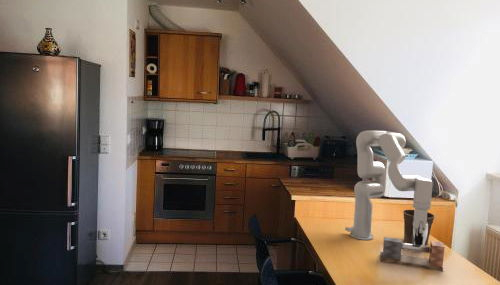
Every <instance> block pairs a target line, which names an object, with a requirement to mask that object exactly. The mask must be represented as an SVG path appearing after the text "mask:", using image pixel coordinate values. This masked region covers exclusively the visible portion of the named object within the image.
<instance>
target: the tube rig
mask: <svg viewBox="0 0 500 285" xmlns="http://www.w3.org/2000/svg"><path fill="white" fill-rule="evenodd" d="M402 243H403V240H402V239H400V238H395V237H388V236H384V237H383V245H382V246H383V247H382V251H380V254H379V257H380V259H379V260H380V263H386V264H393V265H399V266H404V267H405V266H406V267H411V268H412V267H413V268H417V269H425V270H429V271H430V270H431V271H437V272H444V256H445V245H444V243H443V241H437V240H430V246H429V247H430V252H429V253H428V254H429V255H428V256H429V257H428V258H426V257H420V256H419V257H417V256H413V255H406V254H405V255H404V254H402V250H403V249H402Z"/></svg>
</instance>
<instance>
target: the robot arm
mask: <svg viewBox="0 0 500 285" xmlns="http://www.w3.org/2000/svg"><path fill="white" fill-rule="evenodd" d="M355 143H356V144H355V145H356V151H357V175H358V177H359V178H360V179H372V180H362V181H361V180H360V181H357V183H356V184H355V185H354V188H353V189H354V191H353V192H354V215H353V216H354V217H353V226H351V227H348V226H345V228H344V230H345V231H347V232H348V233H349V232H350V233H349V236H350V237H352V238H353V239H356V240H361V241H362V240H363V241H369V240H372V239H373V238H374V234H372V233H371V232H372V222H373V202H372V201H371V199H373V198H381V197H383V196H384V195H385V193H386V181H387V180H386V174H388V178H389V180H390V182H391V184H392V185H393V187H394V188H395V190H397V191H399V192H413V199H412V200H413V204H412V208H414V209H413V210H414V218H413V228H414V229H415V230H416V231H415V238H414V241H415V244H418V245H422V244H423V230H424V231H425V229H426V221H427V212H428V211H430V210H431V208H432V207H431V206H432V204H431V203H432V194H433V184H434V183H433V181H432V180H431V179H429V178H425V177H422V176H420V175H416V174H415V175H414V174H412V175H411V174H410V175H409V174H408V175H407V174H406V175H404V174H402V172H401V171H400V169H399V165H400V164H401V163H402V162H404V160H405V159H406V154H405V153H404V151H403V149H404V148H405V146H406V143H407V142H406V138H405V136H404V135H403V134H401V133H399V132H394V131H393V132H392V131H388V130H372V129H371V130H364V131H361V132H359V133H358V135H357V137H356V141H355ZM371 147H380V148H381V151H382V153H383V154H384V156H385V158H386V159H387V161H388V163H389V164H388V167H387V168H388V169H387V172H386V166H385V165H384V163H382V162H381V161H378V160H374V152H373V150H372V148H371Z"/></svg>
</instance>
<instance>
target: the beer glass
mask: <svg viewBox="0 0 500 285" xmlns="http://www.w3.org/2000/svg"><path fill="white" fill-rule="evenodd" d="M415 231H416V230H415V229H414V228H413V238H415ZM427 234H428V223H427V222H426V229H425V231H424V230H423V244H422V245H421V246H426V245H425V241H426V238H427ZM414 245H416V244H415V241H414ZM415 252H416V253H418V252H417V251H415Z"/></svg>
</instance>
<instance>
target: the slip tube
mask: <svg viewBox="0 0 500 285" xmlns="http://www.w3.org/2000/svg"><path fill="white" fill-rule="evenodd" d="M402 250H404V251H411V252H416V251H417V252H416V253H425V254H429V253H430V246H428V245H425V246H421V245H418V244H416V245H414V244H411V243H408V242H406V243H405V242H402Z"/></svg>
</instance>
